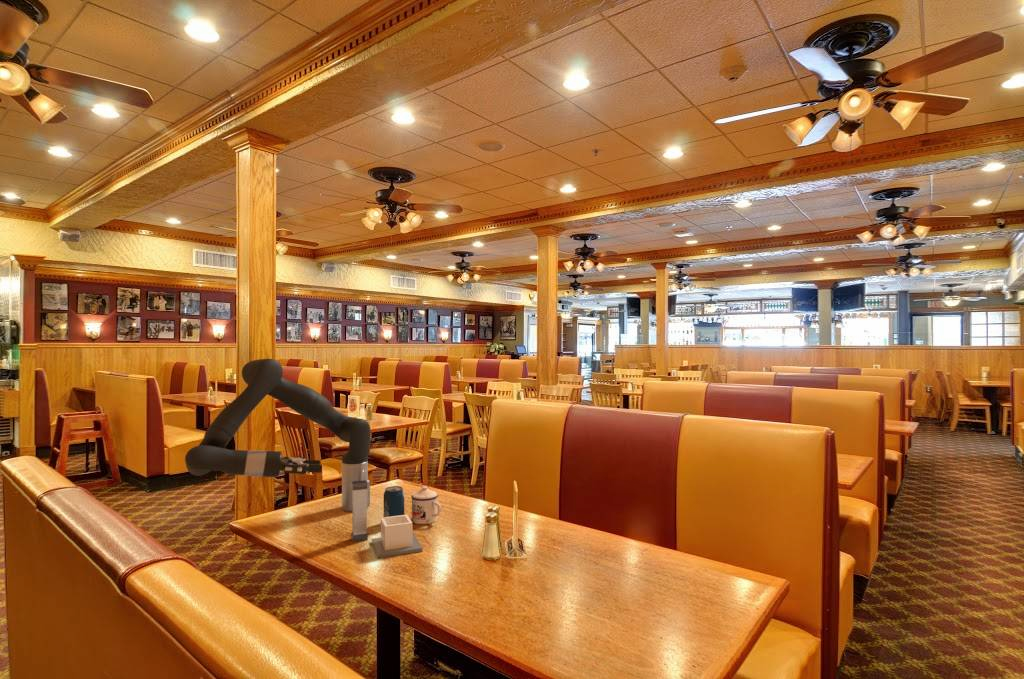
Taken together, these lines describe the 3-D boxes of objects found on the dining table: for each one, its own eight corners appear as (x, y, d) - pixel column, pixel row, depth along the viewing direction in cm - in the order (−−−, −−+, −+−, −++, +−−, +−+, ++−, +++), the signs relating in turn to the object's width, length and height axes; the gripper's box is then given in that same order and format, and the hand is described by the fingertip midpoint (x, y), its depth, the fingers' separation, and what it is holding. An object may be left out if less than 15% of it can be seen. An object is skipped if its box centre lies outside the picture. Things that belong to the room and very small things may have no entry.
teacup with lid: (405, 521, 187) (405, 487, 187) (424, 514, 195) (424, 481, 194) (431, 528, 180) (431, 493, 180) (449, 520, 188) (449, 487, 188)
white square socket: (371, 541, 169) (371, 516, 169) (413, 536, 174) (413, 511, 173) (377, 558, 157) (377, 530, 157) (422, 551, 162) (422, 524, 161)
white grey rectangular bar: (351, 538, 172) (351, 481, 171) (366, 536, 173) (366, 480, 173) (352, 541, 169) (352, 484, 168) (367, 539, 170) (367, 482, 170)
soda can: (406, 520, 188) (406, 485, 188) (400, 527, 181) (400, 491, 181) (387, 519, 189) (387, 485, 189) (380, 526, 182) (380, 491, 182)
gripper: (264, 454, 154) (324, 457, 161) (265, 447, 167) (320, 450, 174) (260, 481, 153) (320, 483, 160) (261, 471, 166) (317, 474, 173)
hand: (320, 466), depth 167 cm, fingers open, 8 cm apart
